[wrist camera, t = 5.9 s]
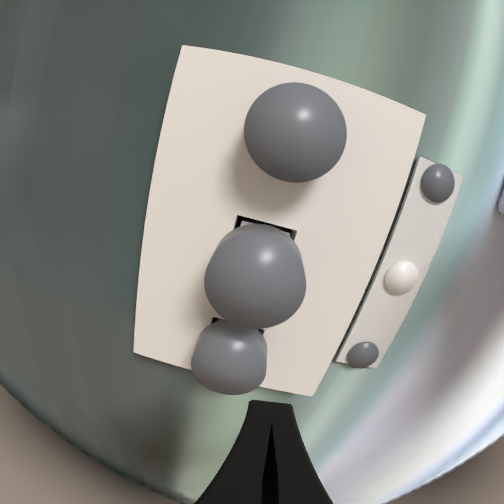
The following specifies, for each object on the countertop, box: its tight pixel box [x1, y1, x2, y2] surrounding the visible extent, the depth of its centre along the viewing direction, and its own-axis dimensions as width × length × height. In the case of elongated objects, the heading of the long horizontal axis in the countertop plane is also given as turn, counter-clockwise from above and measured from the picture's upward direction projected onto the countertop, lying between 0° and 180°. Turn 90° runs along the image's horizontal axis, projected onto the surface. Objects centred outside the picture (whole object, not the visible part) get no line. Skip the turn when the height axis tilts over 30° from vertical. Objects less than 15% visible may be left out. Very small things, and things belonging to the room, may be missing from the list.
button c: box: [191, 318, 267, 395], centre depth 18 cm, size 4×4×4 cm
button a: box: [244, 82, 347, 183], centre depth 14 cm, size 4×4×4 cm
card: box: [336, 156, 463, 368], centre depth 18 cm, size 3×14×1 cm, turn 166°
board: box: [134, 45, 426, 396], centre depth 17 cm, size 12×18×2 cm, turn 166°
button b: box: [204, 220, 306, 329], centre depth 15 cm, size 4×4×4 cm
